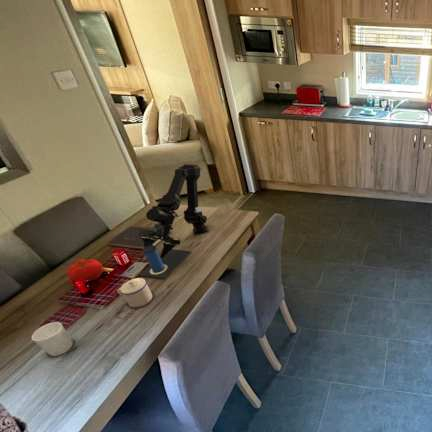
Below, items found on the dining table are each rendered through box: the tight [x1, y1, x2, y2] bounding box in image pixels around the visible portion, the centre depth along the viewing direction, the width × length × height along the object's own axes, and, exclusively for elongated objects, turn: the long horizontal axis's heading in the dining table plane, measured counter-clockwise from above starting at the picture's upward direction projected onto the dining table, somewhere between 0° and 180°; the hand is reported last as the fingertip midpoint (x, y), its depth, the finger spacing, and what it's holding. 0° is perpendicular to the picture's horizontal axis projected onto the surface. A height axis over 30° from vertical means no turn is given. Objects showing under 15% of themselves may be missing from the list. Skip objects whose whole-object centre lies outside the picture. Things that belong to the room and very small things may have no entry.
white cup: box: [31, 321, 74, 357], centre depth 113 cm, size 8×8×10 cm
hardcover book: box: [107, 225, 171, 251], centre depth 170 cm, size 16×23×2 cm
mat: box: [139, 248, 191, 280], centre depth 156 cm, size 20×12×1 cm, turn 174°
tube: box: [142, 245, 165, 273], centre depth 148 cm, size 5×5×13 cm
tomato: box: [66, 258, 104, 282], centre depth 143 cm, size 11×12×9 cm
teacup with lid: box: [117, 277, 153, 308], centre depth 133 cm, size 12×9×12 cm
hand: (153, 255), depth 147 cm, fingers open, 9 cm apart
